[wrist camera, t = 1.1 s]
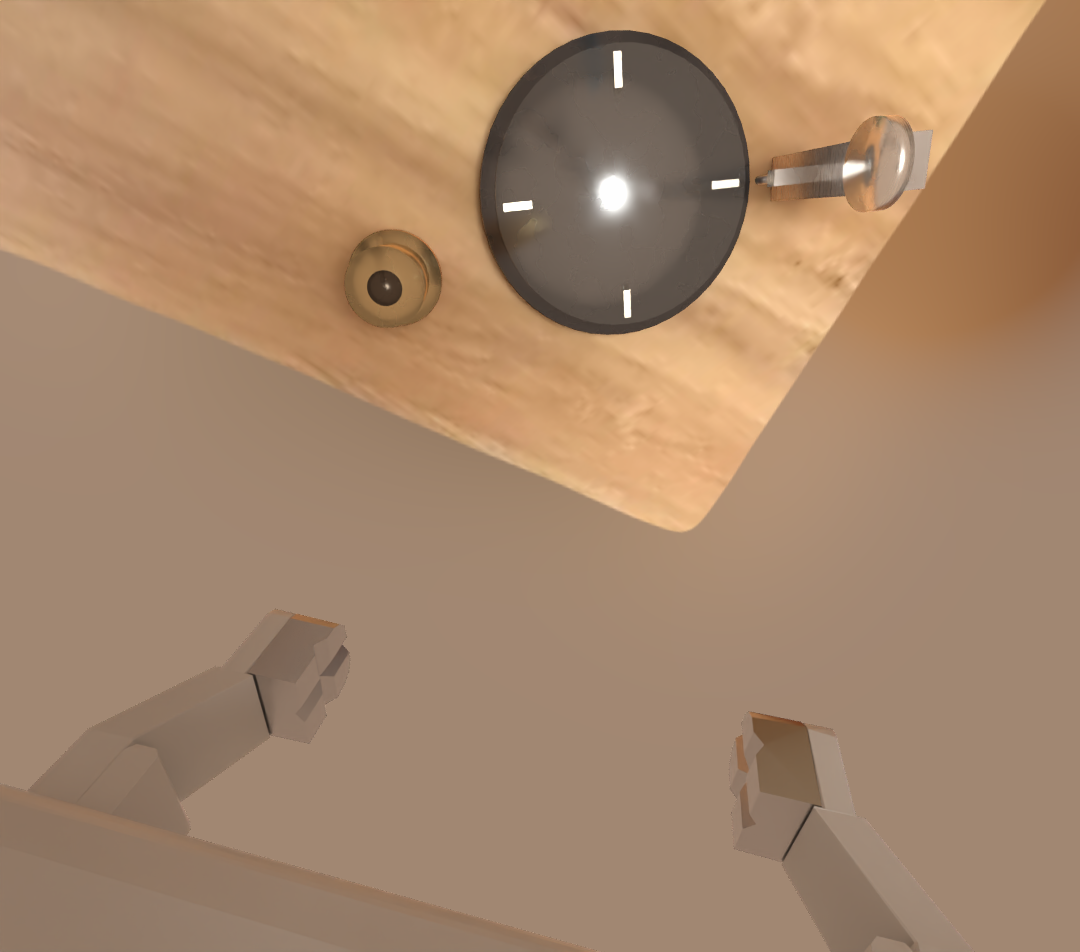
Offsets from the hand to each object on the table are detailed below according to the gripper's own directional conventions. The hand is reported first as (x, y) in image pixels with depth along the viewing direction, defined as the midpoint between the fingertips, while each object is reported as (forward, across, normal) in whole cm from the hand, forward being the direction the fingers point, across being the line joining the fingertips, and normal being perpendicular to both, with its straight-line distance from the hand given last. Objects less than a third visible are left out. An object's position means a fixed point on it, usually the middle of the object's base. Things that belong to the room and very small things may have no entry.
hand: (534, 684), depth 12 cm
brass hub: (+36, +18, +2) cm, 40 cm away
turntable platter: (+40, +3, -4) cm, 41 cm away
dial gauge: (+46, -8, -6) cm, 47 cm away
